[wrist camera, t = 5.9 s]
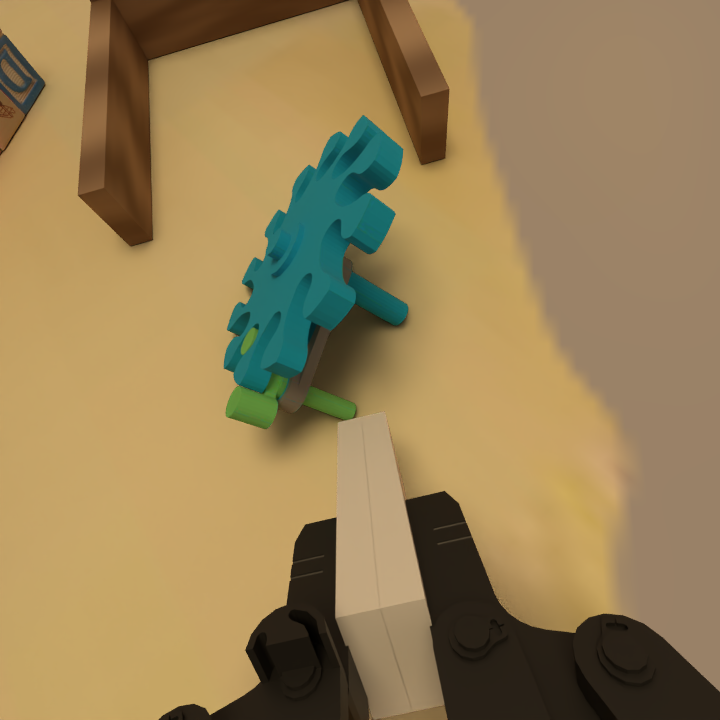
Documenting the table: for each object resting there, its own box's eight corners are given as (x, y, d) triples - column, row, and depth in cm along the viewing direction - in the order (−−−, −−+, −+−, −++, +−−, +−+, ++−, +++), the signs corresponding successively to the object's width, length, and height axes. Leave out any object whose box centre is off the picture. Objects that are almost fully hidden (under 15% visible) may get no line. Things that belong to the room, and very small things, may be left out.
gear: (273, 170, 19) (408, 33, 11) (371, 236, 22) (536, 167, 14) (179, 394, 18) (253, 437, 9) (299, 434, 20) (441, 493, 12)
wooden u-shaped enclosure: (445, 157, 20) (453, 21, 15) (130, 245, 21) (27, 146, 16) (370, -19, 27) (357, -160, 21) (130, 53, 28) (57, -65, 22)
